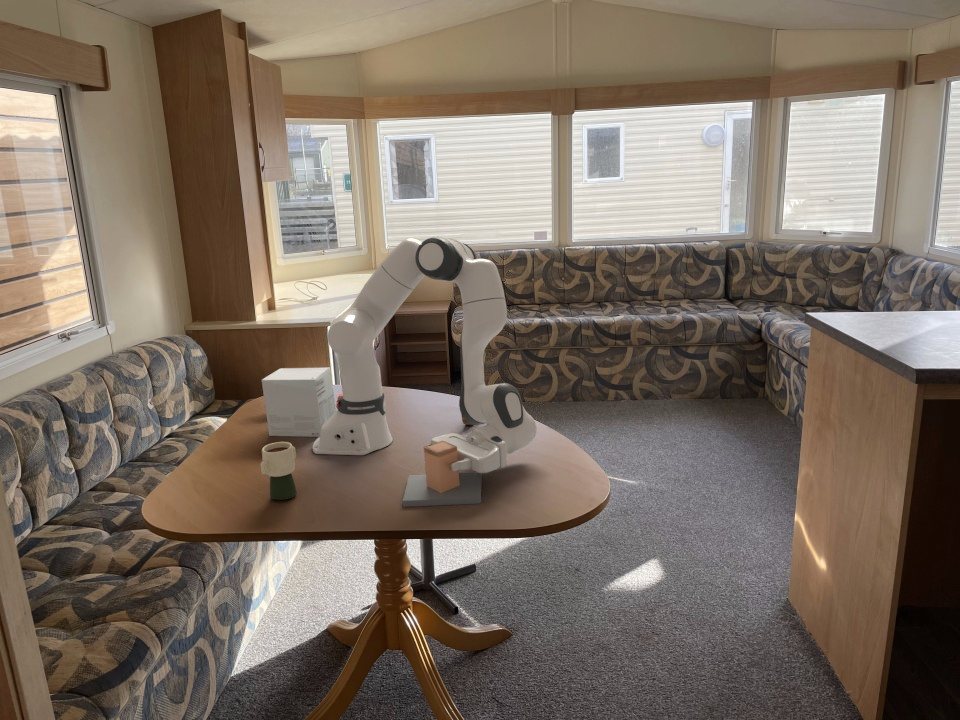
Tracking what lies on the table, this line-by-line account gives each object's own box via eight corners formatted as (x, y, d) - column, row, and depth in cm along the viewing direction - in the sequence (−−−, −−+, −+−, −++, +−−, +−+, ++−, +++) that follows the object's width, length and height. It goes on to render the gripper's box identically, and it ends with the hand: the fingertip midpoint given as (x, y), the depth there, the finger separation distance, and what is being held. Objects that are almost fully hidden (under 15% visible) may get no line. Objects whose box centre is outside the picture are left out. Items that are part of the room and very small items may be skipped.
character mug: (289, 485, 177) (282, 437, 174) (310, 490, 173) (304, 441, 170) (256, 503, 168) (248, 453, 164) (278, 509, 164) (270, 457, 161)
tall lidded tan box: (440, 493, 165) (437, 453, 162) (426, 485, 169) (423, 447, 166) (459, 485, 168) (456, 446, 165) (445, 478, 172) (442, 440, 170)
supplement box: (338, 422, 221) (332, 366, 216) (322, 437, 208) (315, 379, 204) (287, 421, 224) (279, 367, 219) (268, 437, 211) (259, 379, 207)
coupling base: (403, 506, 162) (399, 470, 160) (409, 480, 176) (406, 447, 173) (481, 503, 162) (478, 467, 159) (481, 477, 175) (479, 443, 173)
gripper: (456, 423, 181) (412, 438, 173) (509, 443, 166) (464, 461, 158) (457, 446, 183) (414, 462, 175) (511, 468, 168) (466, 486, 159)
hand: (438, 461), depth 166 cm, fingers open, 8 cm apart
